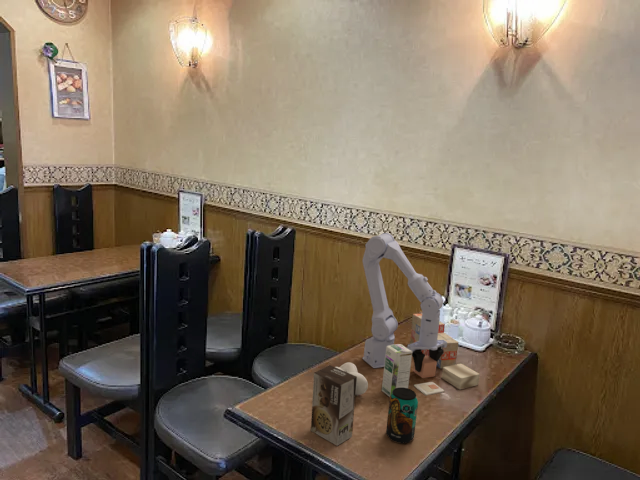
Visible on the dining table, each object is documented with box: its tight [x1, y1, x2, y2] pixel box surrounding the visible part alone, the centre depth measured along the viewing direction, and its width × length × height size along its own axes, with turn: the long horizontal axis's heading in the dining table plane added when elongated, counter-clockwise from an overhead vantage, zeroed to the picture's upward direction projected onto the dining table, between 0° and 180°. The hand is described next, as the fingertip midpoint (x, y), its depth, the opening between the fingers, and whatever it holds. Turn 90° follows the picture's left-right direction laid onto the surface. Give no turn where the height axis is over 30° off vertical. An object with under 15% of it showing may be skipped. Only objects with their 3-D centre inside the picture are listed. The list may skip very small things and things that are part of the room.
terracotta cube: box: [413, 356, 437, 379], centre depth 155 cm, size 5×5×5 cm
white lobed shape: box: [334, 362, 369, 396], centre depth 138 cm, size 11×12×9 cm
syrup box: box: [381, 343, 413, 398], centre depth 140 cm, size 6×6×14 cm
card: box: [413, 381, 445, 396], centre depth 146 cm, size 7×6×1 cm
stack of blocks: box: [409, 312, 460, 369], centre depth 170 cm, size 21×6×12 cm, turn 18°
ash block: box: [441, 363, 480, 390], centre depth 152 cm, size 8×8×4 cm
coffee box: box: [310, 364, 357, 447], centre depth 118 cm, size 9×6×16 cm
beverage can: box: [385, 387, 419, 444], centre depth 119 cm, size 7×7×12 cm
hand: (424, 369), depth 155 cm, fingers closed on terracotta cube, 5 cm apart
